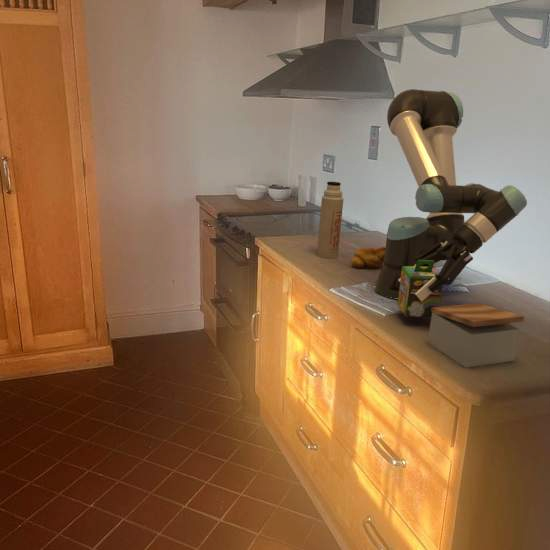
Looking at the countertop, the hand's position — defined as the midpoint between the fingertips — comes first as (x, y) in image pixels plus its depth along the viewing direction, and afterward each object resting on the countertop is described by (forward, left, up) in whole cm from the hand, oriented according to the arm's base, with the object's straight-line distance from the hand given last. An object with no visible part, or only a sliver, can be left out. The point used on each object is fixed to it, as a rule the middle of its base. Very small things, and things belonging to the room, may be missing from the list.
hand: (409, 290), depth 147 cm
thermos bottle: (-65, +9, -9) cm, 66 cm away
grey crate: (+21, +4, -9) cm, 23 cm away
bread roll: (-50, +17, -9) cm, 53 cm away
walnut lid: (+21, +4, 0) cm, 21 cm away
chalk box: (0, +3, -6) cm, 7 cm away
